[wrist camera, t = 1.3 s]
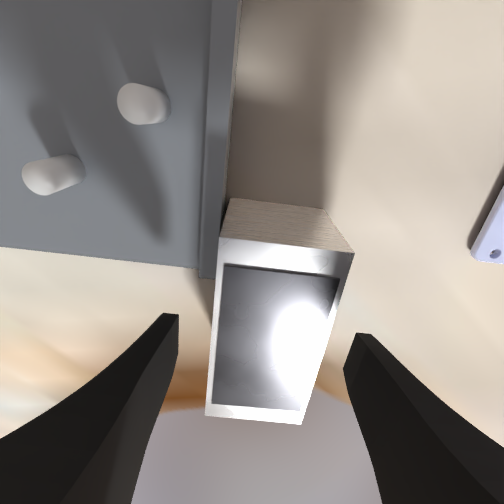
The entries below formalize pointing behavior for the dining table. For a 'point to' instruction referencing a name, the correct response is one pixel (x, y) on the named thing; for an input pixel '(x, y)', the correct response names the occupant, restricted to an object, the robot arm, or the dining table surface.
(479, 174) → the dining table surface
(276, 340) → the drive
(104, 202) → the pin tray
